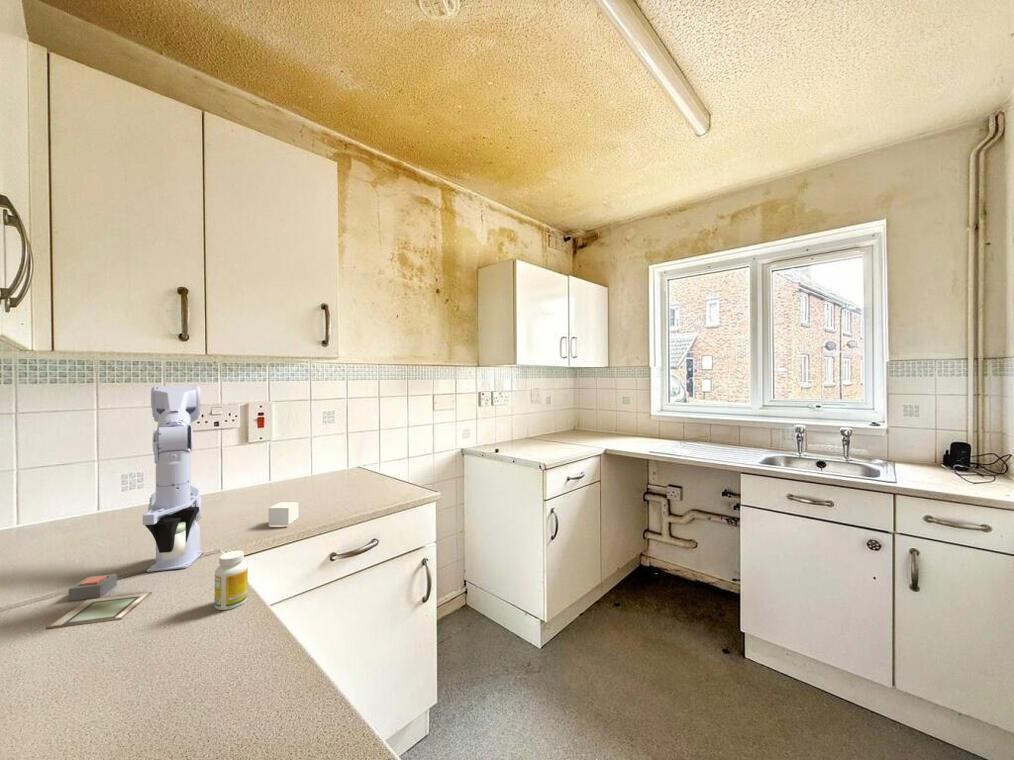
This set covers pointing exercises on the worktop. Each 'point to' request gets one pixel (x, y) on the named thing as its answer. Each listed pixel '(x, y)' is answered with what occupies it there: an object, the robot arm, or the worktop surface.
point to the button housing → (92, 588)
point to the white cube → (283, 513)
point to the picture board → (100, 610)
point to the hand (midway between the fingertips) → (173, 547)
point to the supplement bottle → (231, 581)
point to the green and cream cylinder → (177, 543)
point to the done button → (93, 580)
